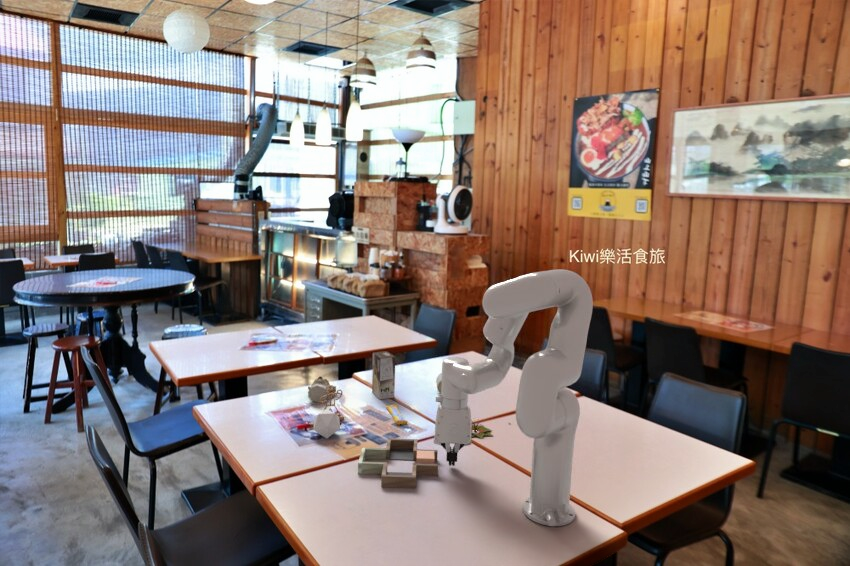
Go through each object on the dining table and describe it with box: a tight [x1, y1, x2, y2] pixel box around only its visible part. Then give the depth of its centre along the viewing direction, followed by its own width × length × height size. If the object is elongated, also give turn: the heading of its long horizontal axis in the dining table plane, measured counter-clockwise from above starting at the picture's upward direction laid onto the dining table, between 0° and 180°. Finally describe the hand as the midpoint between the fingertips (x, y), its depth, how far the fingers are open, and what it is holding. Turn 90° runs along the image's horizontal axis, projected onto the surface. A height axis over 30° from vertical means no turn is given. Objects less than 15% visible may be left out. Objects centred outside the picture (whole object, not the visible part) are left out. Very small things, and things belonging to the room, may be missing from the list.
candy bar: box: [385, 404, 408, 426], centre depth 201 cm, size 17×4×2 cm, turn 16°
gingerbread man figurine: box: [318, 384, 345, 421], centre depth 195 cm, size 9×4×12 cm, turn 112°
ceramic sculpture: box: [307, 376, 337, 404], centre depth 216 cm, size 11×9×15 cm
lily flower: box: [471, 418, 494, 440], centre depth 189 cm, size 12×12×5 cm
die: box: [312, 408, 341, 439], centre depth 182 cm, size 8×9×10 cm
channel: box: [357, 438, 439, 489], centre depth 163 cm, size 24×22×3 cm
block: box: [416, 450, 436, 464], centre depth 163 cm, size 5×5×4 cm
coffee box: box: [371, 350, 396, 400], centre depth 220 cm, size 9×6×16 cm
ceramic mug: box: [435, 372, 442, 394], centre depth 226 cm, size 10×8×7 cm
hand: (451, 463), depth 163 cm, fingers closed
